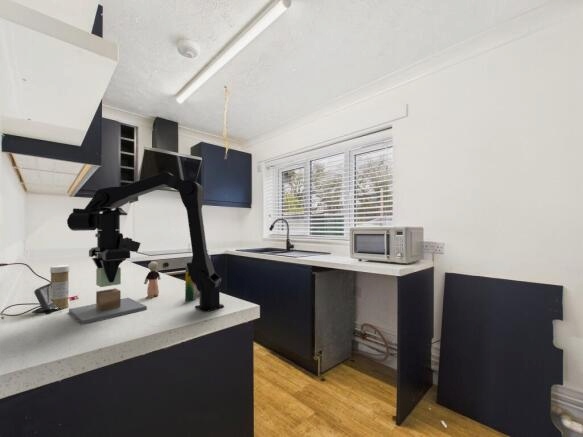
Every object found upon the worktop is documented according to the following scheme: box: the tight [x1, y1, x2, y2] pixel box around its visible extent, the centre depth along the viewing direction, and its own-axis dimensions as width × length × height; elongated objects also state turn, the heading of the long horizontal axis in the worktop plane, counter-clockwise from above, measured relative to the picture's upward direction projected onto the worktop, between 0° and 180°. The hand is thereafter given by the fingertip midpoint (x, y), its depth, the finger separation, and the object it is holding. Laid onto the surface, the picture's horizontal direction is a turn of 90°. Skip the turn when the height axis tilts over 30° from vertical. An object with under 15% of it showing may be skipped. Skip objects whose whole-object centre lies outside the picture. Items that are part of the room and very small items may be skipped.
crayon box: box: [184, 265, 199, 302], centre depth 95 cm, size 7×3×12 cm, turn 179°
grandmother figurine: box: [143, 261, 161, 299], centre depth 98 cm, size 8×4×13 cm, turn 179°
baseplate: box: [68, 297, 148, 325], centre depth 81 cm, size 16×16×1 cm
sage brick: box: [95, 267, 122, 288], centre depth 81 cm, size 5×5×5 cm
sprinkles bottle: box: [49, 264, 70, 310], centre depth 85 cm, size 5×5×13 cm
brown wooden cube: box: [95, 287, 122, 311], centre depth 81 cm, size 5×5×5 cm
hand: (108, 281), depth 81 cm, fingers closed on sage brick, 5 cm apart
